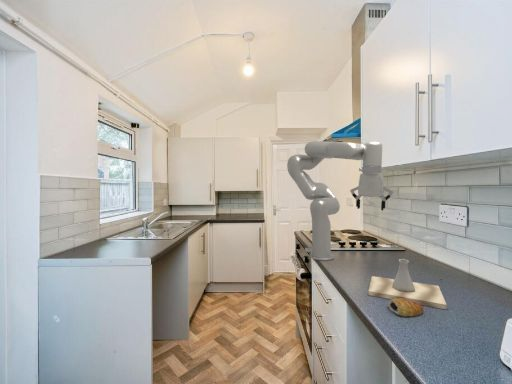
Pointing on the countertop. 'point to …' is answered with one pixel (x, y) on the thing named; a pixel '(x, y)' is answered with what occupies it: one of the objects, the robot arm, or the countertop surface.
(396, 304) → the pastry
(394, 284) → the flask
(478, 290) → the countertop surface
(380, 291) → the birch board
